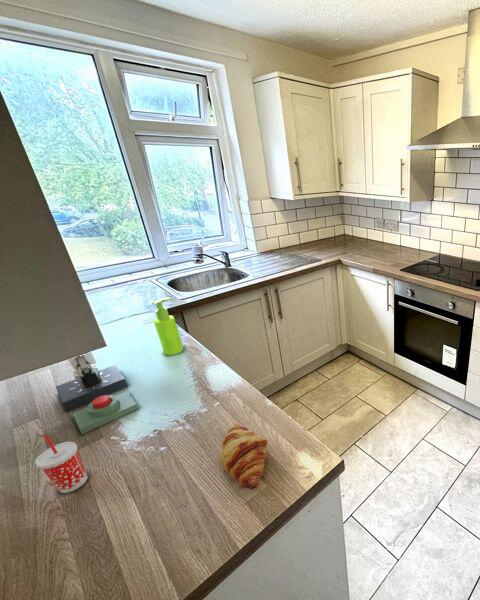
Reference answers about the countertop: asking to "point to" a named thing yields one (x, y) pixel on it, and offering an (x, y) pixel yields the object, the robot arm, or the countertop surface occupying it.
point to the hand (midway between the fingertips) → (89, 378)
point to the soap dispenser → (167, 329)
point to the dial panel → (91, 388)
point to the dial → (77, 375)
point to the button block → (104, 412)
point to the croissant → (243, 456)
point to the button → (101, 401)
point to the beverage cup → (62, 466)
